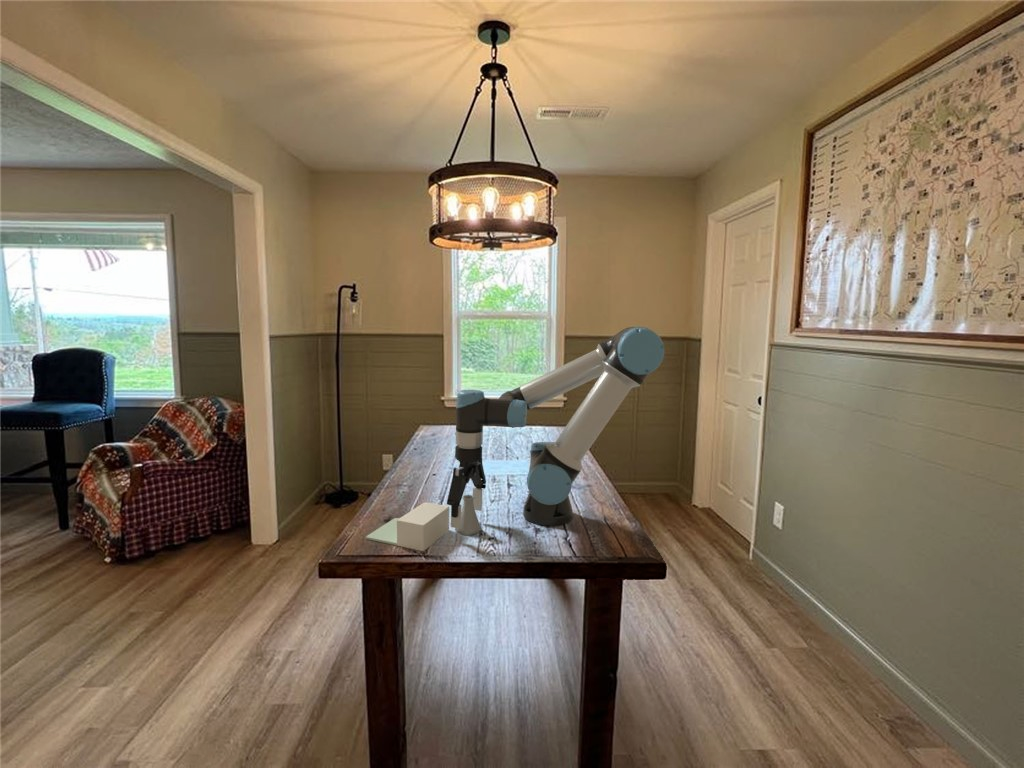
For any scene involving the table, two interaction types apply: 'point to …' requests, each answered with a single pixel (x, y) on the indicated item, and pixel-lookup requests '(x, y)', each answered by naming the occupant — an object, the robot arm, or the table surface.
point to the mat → (385, 533)
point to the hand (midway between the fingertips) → (466, 518)
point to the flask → (468, 517)
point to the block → (422, 526)
